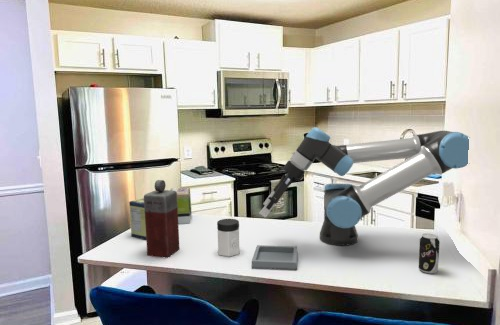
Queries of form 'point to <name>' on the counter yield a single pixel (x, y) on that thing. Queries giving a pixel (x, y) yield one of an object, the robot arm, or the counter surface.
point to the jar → (228, 237)
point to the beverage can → (429, 253)
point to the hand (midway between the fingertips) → (264, 210)
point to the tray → (275, 257)
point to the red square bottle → (161, 221)
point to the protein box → (137, 218)
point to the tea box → (183, 205)
